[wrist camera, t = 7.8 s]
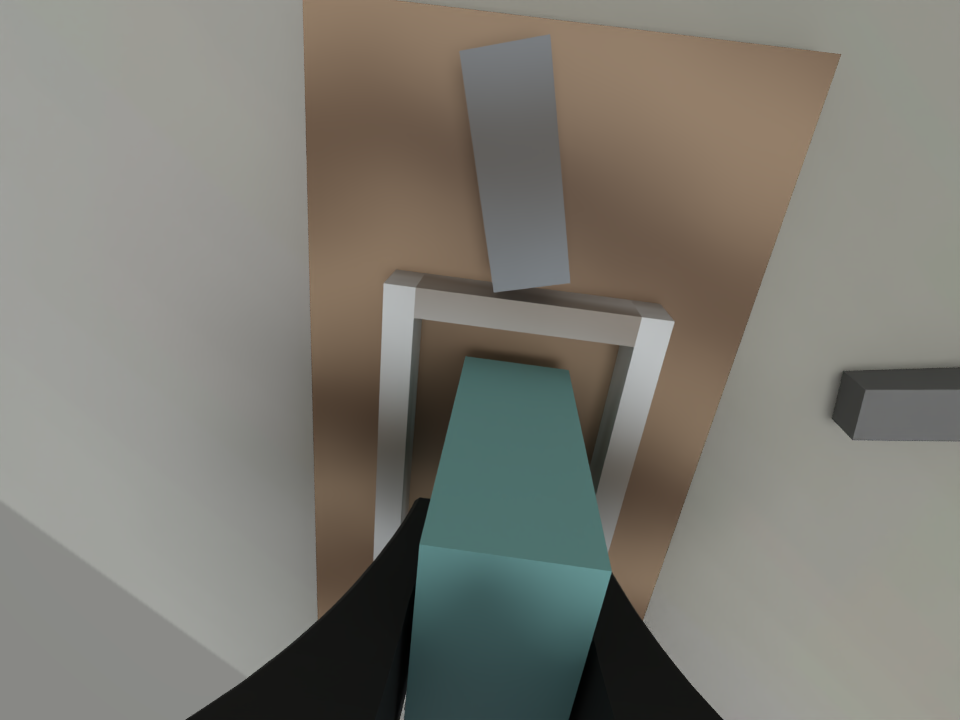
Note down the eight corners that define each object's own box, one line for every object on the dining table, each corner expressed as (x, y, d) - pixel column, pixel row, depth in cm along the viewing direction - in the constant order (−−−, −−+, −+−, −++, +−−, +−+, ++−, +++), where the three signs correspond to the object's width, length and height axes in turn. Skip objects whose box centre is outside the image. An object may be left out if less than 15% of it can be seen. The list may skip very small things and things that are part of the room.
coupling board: (607, 684, 22) (619, 758, 19) (327, 644, 22) (302, 711, 19) (817, 59, 12) (896, 40, 10) (318, -1, 12) (266, -35, 10)
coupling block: (568, 370, 14) (611, 571, 7) (538, 516, 16) (552, 774, 9) (465, 356, 14) (419, 544, 7) (448, 503, 16) (401, 751, 9)
